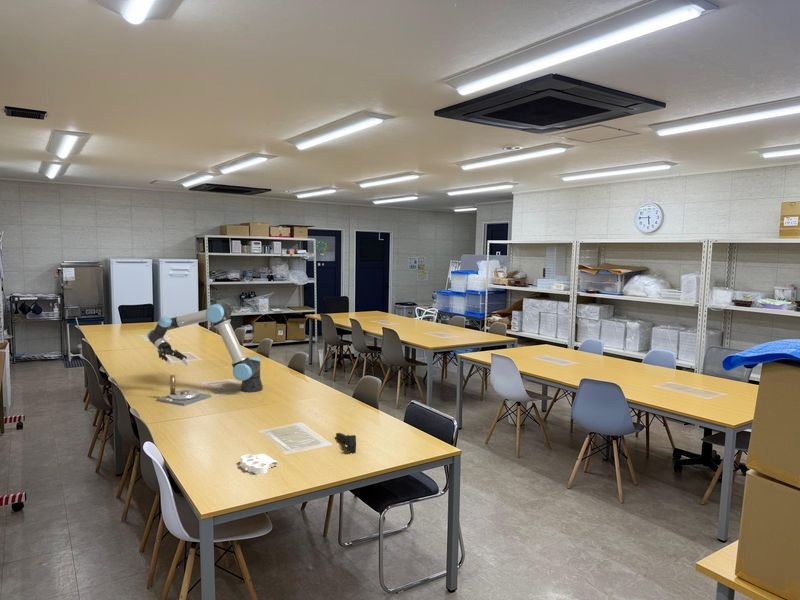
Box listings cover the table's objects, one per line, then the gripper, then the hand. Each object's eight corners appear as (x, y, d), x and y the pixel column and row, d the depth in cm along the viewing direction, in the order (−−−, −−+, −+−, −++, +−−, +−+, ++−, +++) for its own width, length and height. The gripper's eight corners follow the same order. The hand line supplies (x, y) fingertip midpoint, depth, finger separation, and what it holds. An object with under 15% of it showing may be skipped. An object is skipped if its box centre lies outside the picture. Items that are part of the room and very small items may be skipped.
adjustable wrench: (341, 446, 276) (356, 453, 253) (336, 447, 275) (351, 454, 252) (340, 430, 277) (355, 435, 254) (335, 431, 276) (350, 436, 253)
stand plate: (211, 397, 348) (211, 393, 348) (184, 405, 327) (184, 402, 327) (185, 392, 357) (185, 389, 357) (157, 401, 336) (156, 397, 336)
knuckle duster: (281, 469, 235) (251, 478, 225) (262, 457, 248) (232, 465, 239) (281, 461, 235) (251, 470, 225) (262, 450, 248) (232, 457, 238)
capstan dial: (201, 397, 339) (201, 376, 338) (171, 401, 330) (171, 379, 328) (196, 391, 354) (196, 370, 353) (167, 394, 345) (167, 373, 344)
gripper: (176, 352, 362) (192, 370, 352) (143, 349, 341) (160, 367, 330) (181, 343, 362) (197, 360, 351) (149, 339, 340) (165, 357, 330)
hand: (179, 363), depth 341 cm, fingers open, 13 cm apart
